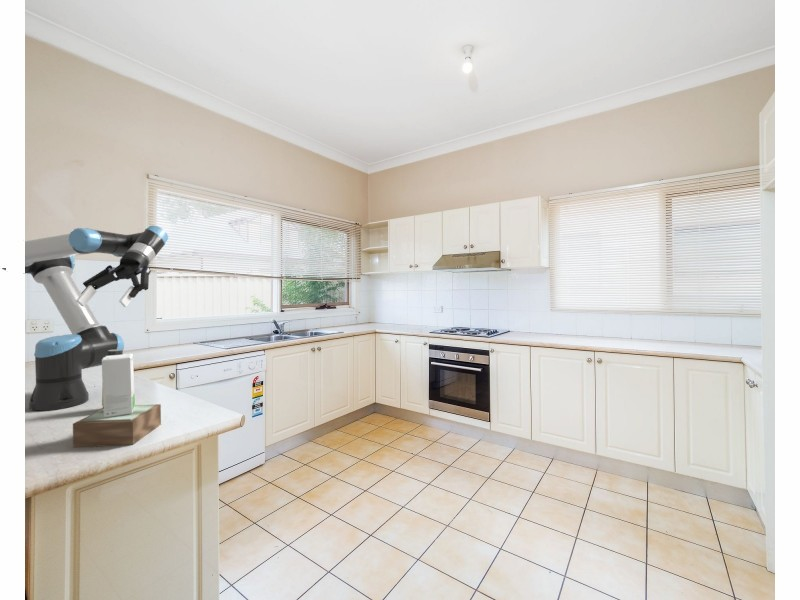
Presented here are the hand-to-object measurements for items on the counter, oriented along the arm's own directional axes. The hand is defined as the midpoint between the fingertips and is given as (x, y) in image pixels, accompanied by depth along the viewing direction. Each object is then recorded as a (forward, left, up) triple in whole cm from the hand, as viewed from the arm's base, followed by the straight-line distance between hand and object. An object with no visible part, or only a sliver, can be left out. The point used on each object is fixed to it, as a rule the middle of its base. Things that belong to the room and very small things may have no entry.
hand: (101, 303), depth 112 cm
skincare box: (+15, +13, -29) cm, 35 cm away
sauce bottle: (-8, -2, -36) cm, 37 cm away
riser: (+15, +13, -36) cm, 41 cm away
